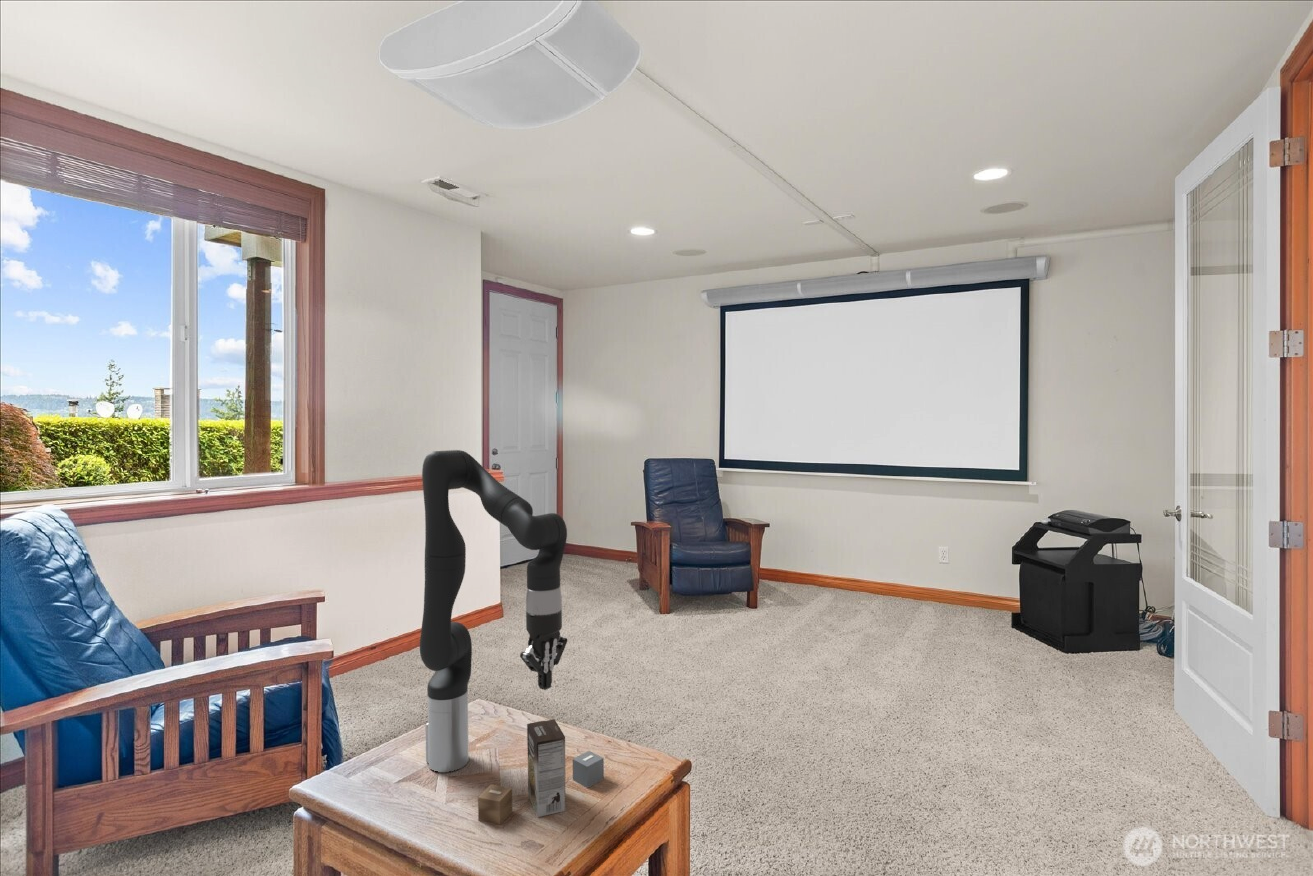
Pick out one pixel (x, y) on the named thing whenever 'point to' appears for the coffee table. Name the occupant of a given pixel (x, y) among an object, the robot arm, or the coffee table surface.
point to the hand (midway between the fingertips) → (545, 688)
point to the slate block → (588, 769)
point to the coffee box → (546, 767)
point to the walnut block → (495, 804)
